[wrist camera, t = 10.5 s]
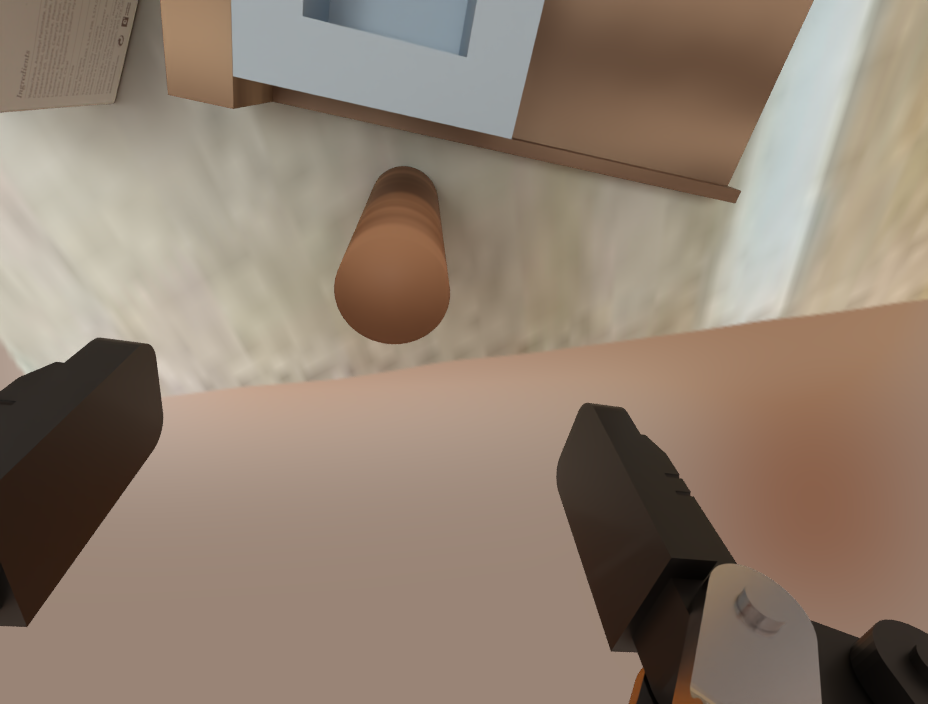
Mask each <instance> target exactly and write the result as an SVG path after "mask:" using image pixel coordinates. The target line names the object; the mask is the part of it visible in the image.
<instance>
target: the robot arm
mask: <svg viewBox="0 0 928 704" xmlns="http://www.w3.org/2000/svg"><path fill="white" fill-rule="evenodd" d="M162 426H163V409H162V402H161V393H160V385H159V377H158V369H157V361H156V355H155V351H154V349H153V347H152V346H151V345H149V344H145V343H138V342H130V341H123V340H115V339H107V338H96V339H94V340H92V341H91V342H89V343H88V344H87V345H86V346H85V347H83V348H82V349H81V350H80V351H78V352H77V353H76V354H75V355H73V356H72V357H71V358H70V359H68V360H67V361H66V362H65V363H62V362H55V363H52V364H50V365H47V366H45V367H43V368H40V369H38V370H36V371H33V372H31V373H28V374H26V375H24V376H21V377H19V378H18V379H16V380H15V381H14V382H12V383H11V384H9V385H8V386H7V387H6V388H4V389H3V390H2V391H0V626H17V627H18V626H19V627H27V626H28V625H29V623H30V622H31V621H32V619H33V618H34V616H35V615H36V614H37V612H38V611H39V609H40V608H41V607H42V605H43V604H44V602H45V601H46V600H47V598H48V597H49V595H50V594H51V593H52V591H53V590H54V588H55V587H56V586H57V584H58V583H59V581H60V580H61V578H62V577H63V576H64V574H65V573H66V572H67V570H68V569H69V567H70V566H71V565H72V563H73V562H74V561H75V559H76V558H77V556H78V555H79V554H80V552H81V551H82V549H83V548H84V547H85V545H86V544H87V542H88V541H89V540H90V538H91V537H92V535H93V534H94V533H95V531H96V530H97V528H98V527H99V526H100V524H101V523H102V521H103V520H104V519H105V517H106V516H107V514H108V513H109V512H110V510H111V509H112V507H113V506H114V505H115V503H116V502H117V500H118V499H119V497H120V496H121V495H122V493H123V492H124V491H125V489H126V488H127V486H128V485H129V484H130V482H131V481H132V479H133V478H134V476H135V475H136V474H137V472H138V471H139V470H140V468H141V467H142V465H143V464H144V462H145V461H146V460H147V458H148V457H149V455H150V454H151V453H152V451H153V450H154V448H155V446H156V445H157V443H158V440H159V437H160V434H161V431H162ZM556 477H557V487H558V491H559V494H560V498H561V500H562V504H563V507H564V510H565V513H566V516H567V519H568V522H569V525H570V528H571V531H572V534H573V537H574V540H575V543H576V546H577V549H578V552H579V555H580V558H581V561H582V565H583V568H584V570H585V574H586V576H587V580H588V583H589V586H590V589H591V592H592V595H593V598H594V601H595V604H596V607H597V610H598V613H599V616H600V619H601V622H602V625H603V628H604V631H605V635H606V638H607V640H608V643H609V647H610V650H611V651H615V652H638V655H639V657H640V660H641V663H642V665H643V668H642V669H641V670H640V672H639V673H638V675H637V677H636V680H635V683H634V687H633V690H632V693H631V697H630V700H629V704H928V634H927V633H925V632H923V631H921V630H920V629H917V628H915V627H913V626H911V625H909V624H906V623H903V622H900V621H895V620H882V621H879V622H878V623H876V624H875V625H874V626H873V627H872V628H871V629H870V630H868V631H867V632H866V633H865V634H864V635H863V636H862V637H861V638H858V637H855V636H852V635H849V634H846V633H844V632H841V631H839V630H836V629H833V628H830V627H828V626H825V625H822V624H819V623H817V622H814V621H811V620H810V619H809V618H808V616H807V614H806V613H805V611H804V610H803V608H802V607H801V606H800V605H799V604H798V602H797V601H796V600H795V599H794V598H793V597H792V596H791V595H790V594H789V593H788V592H787V591H786V590H785V589H783V588H782V587H781V586H780V585H779V584H777V583H776V582H774V581H773V580H772V579H770V578H769V577H767V576H765V575H764V574H762V573H760V572H758V571H756V570H754V569H752V568H749V567H746V566H742V565H739V564H737V563H736V562H735V560H734V559H733V557H732V555H730V552H729V551H728V549H727V548H726V546H725V545H724V543H723V541H722V540H721V538H720V537H719V535H718V534H717V532H716V531H715V529H714V528H713V526H712V524H711V523H710V522H709V520H708V518H707V517H706V515H705V514H704V512H703V510H702V509H701V507H700V506H699V504H698V503H697V501H696V500H695V498H694V497H692V496H690V490H689V489H688V487H687V486H686V484H685V483H684V481H683V479H679V473H678V472H677V470H676V469H675V467H674V466H673V464H672V462H671V461H670V459H669V458H668V456H667V455H666V453H665V452H663V451H662V450H661V449H660V448H659V447H658V446H657V445H656V444H655V443H653V442H652V441H651V440H650V439H649V438H648V437H647V436H646V435H641V434H640V432H639V431H638V429H637V428H636V426H635V424H634V423H633V421H632V419H631V418H630V416H629V415H628V413H627V412H626V410H625V409H624V408H622V407H614V406H607V405H599V404H592V403H585V404H583V405H582V407H581V408H580V409H579V411H578V414H577V416H576V419H575V422H574V424H573V426H572V429H571V431H570V433H569V436H568V438H567V441H566V443H565V446H564V448H563V451H562V453H561V456H560V458H559V461H558V466H557V476H556Z"/></svg>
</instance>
